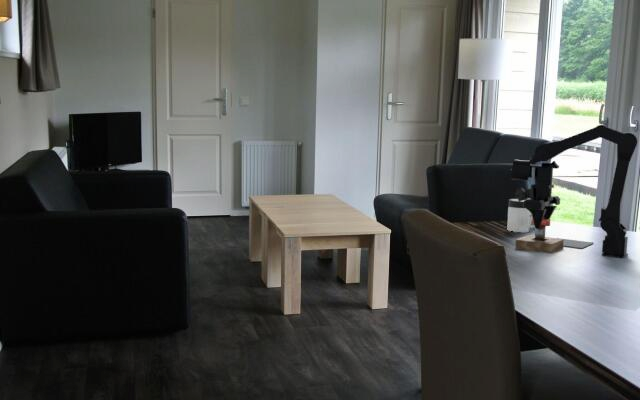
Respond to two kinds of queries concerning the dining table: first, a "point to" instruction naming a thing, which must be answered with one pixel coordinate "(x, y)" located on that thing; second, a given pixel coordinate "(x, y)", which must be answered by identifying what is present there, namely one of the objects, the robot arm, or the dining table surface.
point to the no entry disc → (541, 229)
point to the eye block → (539, 244)
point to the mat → (576, 243)
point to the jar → (518, 216)
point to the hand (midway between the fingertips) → (540, 227)
